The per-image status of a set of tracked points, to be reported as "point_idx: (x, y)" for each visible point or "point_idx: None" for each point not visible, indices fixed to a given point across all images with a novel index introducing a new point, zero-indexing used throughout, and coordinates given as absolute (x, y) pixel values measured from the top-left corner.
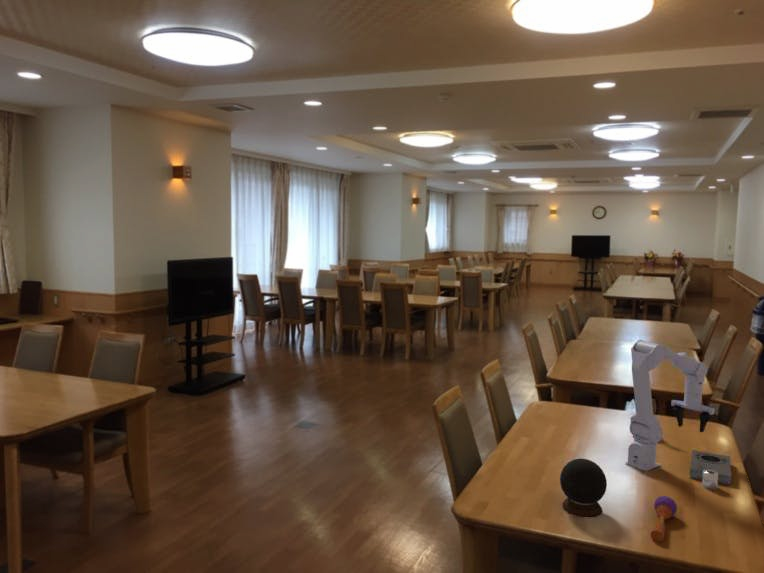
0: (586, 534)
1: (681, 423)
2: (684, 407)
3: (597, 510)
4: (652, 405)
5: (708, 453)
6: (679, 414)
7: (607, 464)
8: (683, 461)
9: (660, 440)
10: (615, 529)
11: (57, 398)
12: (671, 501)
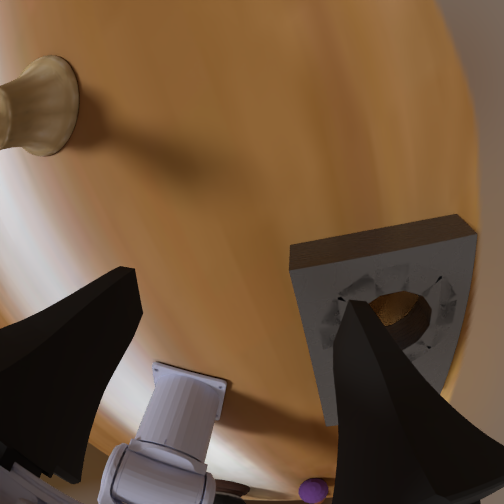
0: (259, 498)
1: (125, 312)
2: (64, 501)
3: (246, 493)
4: None
5: (379, 265)
6: (87, 428)
7: (140, 410)
8: (272, 308)
9: (75, 111)
10: (276, 494)
11: None
12: (321, 500)
